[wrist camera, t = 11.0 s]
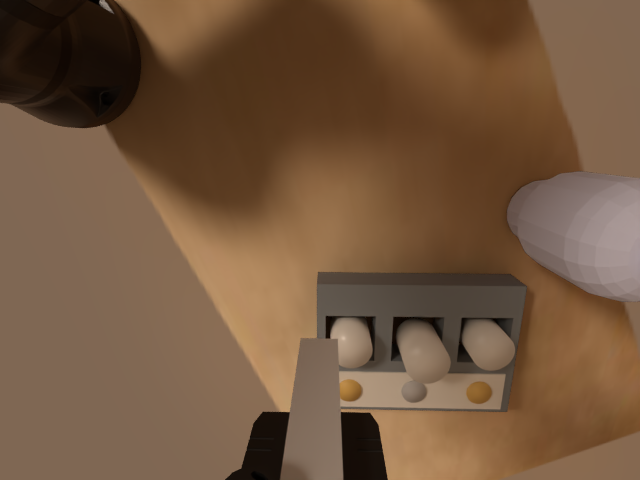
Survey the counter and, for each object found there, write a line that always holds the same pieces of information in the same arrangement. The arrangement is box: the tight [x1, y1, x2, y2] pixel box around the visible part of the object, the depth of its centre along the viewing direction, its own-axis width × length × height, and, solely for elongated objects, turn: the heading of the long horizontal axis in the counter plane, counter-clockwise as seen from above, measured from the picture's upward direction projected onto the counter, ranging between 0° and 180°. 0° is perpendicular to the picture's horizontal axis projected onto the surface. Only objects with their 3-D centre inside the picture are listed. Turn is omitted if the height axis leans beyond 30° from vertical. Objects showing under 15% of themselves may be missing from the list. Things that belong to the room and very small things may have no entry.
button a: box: [330, 316, 373, 368], centre depth 45 cm, size 5×5×6 cm
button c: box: [459, 318, 515, 371], centre depth 44 cm, size 5×5×6 cm
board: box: [317, 272, 527, 412], centre depth 46 cm, size 24×17×4 cm
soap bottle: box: [507, 171, 640, 302], centre depth 32 cm, size 10×10×24 cm
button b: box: [396, 318, 451, 384], centre depth 42 cm, size 5×5×6 cm
